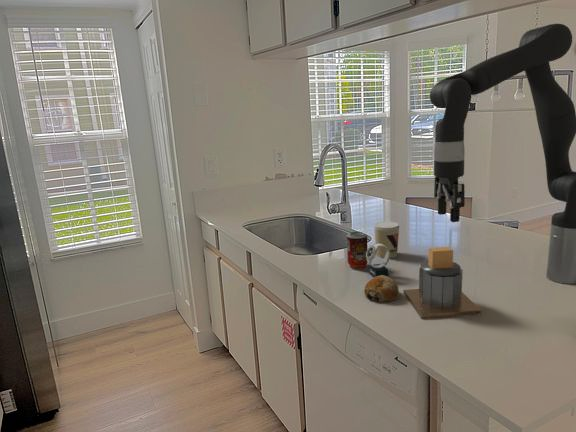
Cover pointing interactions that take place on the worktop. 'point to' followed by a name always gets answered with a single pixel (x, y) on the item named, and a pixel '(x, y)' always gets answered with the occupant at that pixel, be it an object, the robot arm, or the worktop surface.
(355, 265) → the soda can
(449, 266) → the cap
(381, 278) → the bread roll
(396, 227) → the coffee cup
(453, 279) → the gray cylinder on base
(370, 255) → the watch
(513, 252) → the worktop surface
